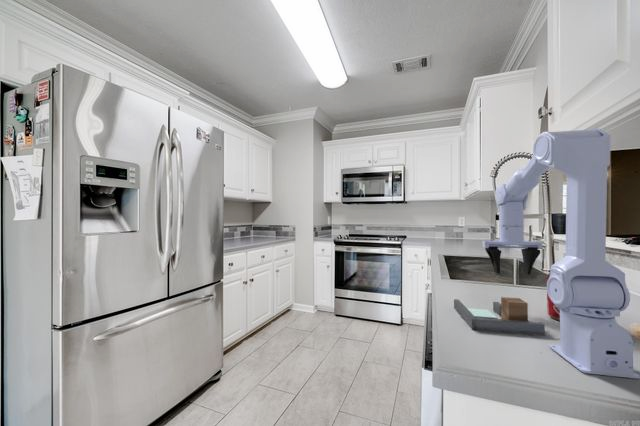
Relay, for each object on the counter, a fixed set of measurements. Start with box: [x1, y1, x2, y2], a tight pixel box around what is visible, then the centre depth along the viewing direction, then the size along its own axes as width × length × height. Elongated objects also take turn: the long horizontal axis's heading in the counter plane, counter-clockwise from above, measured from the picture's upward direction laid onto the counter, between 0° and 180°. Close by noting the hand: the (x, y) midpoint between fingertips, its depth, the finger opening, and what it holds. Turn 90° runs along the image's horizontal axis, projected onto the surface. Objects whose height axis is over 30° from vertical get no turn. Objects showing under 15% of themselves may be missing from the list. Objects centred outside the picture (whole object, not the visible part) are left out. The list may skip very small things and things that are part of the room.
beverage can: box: [546, 270, 560, 321], centre depth 69 cm, size 6×6×12 cm
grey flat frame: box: [453, 298, 546, 337], centre depth 68 cm, size 15×15×2 cm
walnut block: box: [500, 296, 529, 321], centre depth 65 cm, size 4×4×6 cm
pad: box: [466, 307, 498, 319], centre depth 72 cm, size 6×6×1 cm
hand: (511, 273), depth 77 cm, fingers open, 7 cm apart
